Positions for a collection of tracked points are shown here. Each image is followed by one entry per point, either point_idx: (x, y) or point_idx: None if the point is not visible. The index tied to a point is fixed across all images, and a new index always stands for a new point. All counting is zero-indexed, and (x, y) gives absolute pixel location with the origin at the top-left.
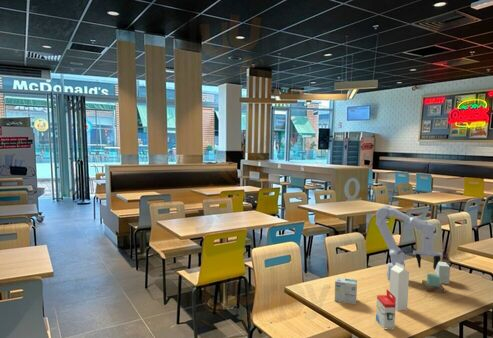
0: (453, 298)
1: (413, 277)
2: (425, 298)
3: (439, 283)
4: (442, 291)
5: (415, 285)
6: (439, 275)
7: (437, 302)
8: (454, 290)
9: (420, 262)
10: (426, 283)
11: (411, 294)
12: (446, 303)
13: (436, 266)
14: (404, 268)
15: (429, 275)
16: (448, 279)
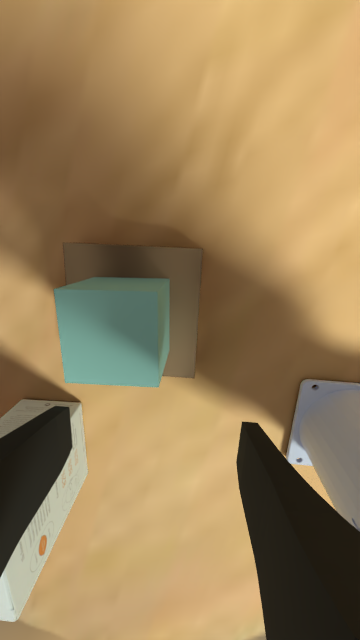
0: (33, 155)
1: (219, 460)
2: (251, 80)
3: None
4: (86, 243)
5: (248, 333)
6: None
7: (172, 15)
8: (5, 309)
9: (274, 486)
10: (180, 319)
11: (345, 138)
12: (103, 19)
13: (37, 549)
14: (351, 482)
15: (149, 333)
16: (5, 418)
